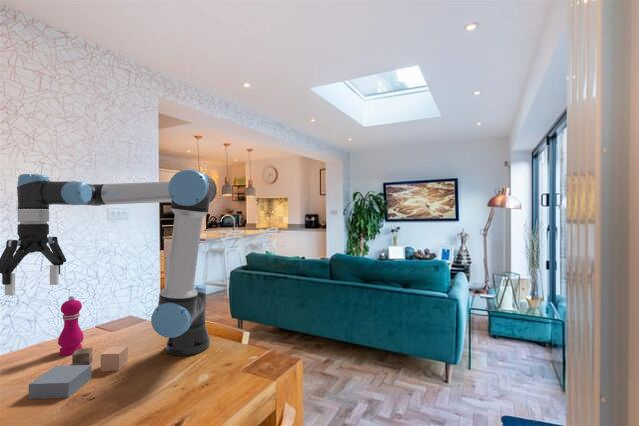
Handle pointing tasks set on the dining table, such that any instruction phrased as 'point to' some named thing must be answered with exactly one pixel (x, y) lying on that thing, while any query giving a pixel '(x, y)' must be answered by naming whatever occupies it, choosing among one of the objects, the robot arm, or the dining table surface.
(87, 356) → the walnut block
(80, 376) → the pedestal
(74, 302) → the pepper mill
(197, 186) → the robot arm
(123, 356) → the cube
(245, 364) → the dining table surface
